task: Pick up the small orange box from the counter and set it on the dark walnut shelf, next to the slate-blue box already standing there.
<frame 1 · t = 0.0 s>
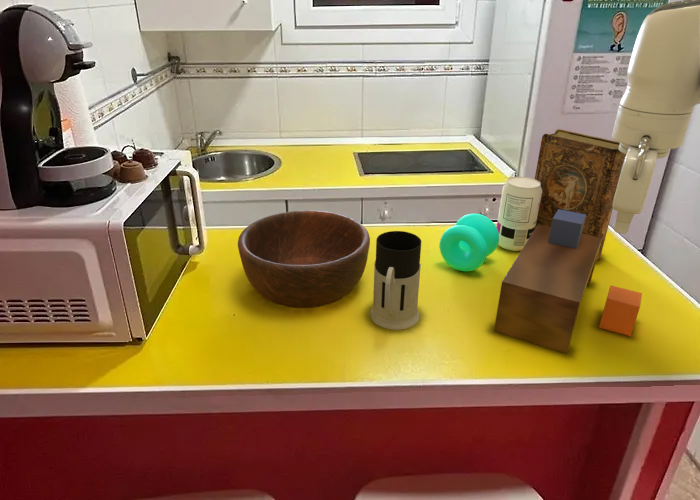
hand: (623, 219, 78), 22 cm above the counter, tool pointing down, fingers open, 8 cm apart
wooden bowl: (306, 282, 103), on the counter
book: (562, 247, 117), on the counter
glass holder: (391, 324, 91), on the counter
slate-blue box: (564, 240, 98), point 10 cm above the counter, touching shelf
orange box: (616, 324, 91), on the counter
shelf: (545, 305, 97), on the counter
supplement can: (512, 244, 119), on the counter
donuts: (466, 263, 111), on the counter
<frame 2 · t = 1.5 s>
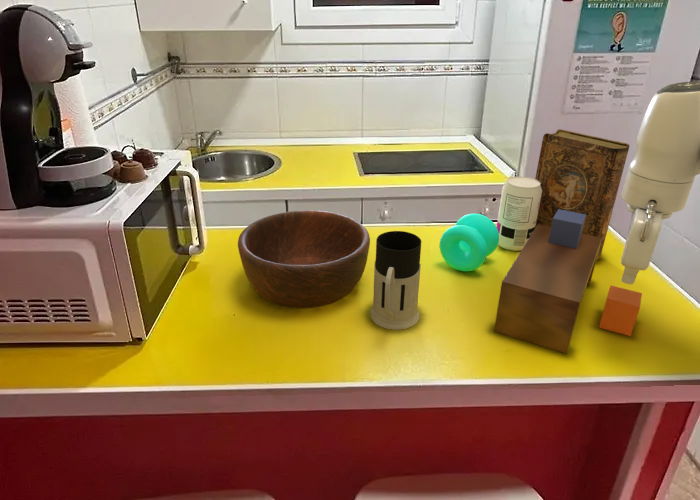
hand: (630, 268, 86), 11 cm above the counter, tool pointing down, fingers open, 8 cm apart
nothing on the counter moved.
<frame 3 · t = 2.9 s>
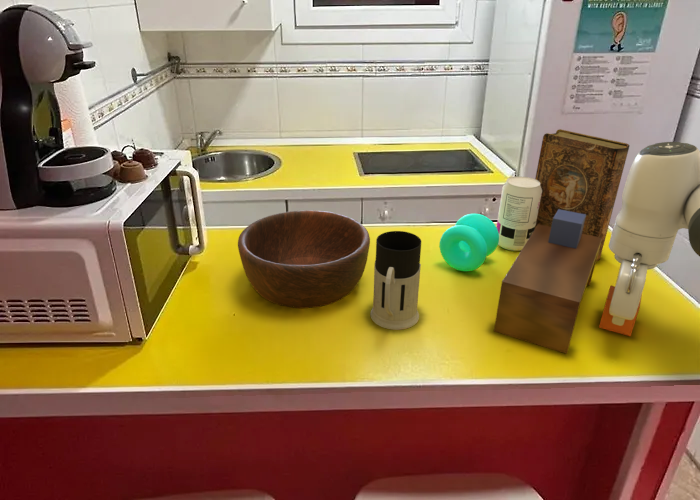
hand: (619, 313, 90), 2 cm above the counter, tool pointing down, fingers closed on orange box, 5 cm apart
orange box: (616, 324, 91), on the counter, touching gripper
everything else where it was.
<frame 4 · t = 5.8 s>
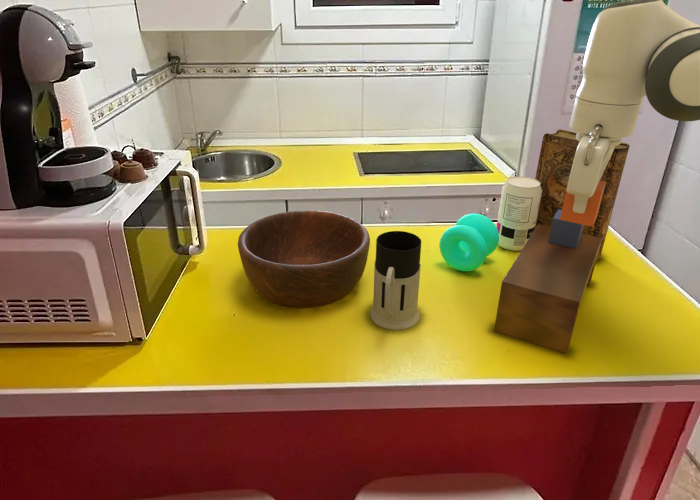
hand: (582, 204, 84), 22 cm above the counter, tool pointing down, fingers closed on orange box, 5 cm apart
orange box: (578, 217, 85), point 19 cm above the counter, touching gripper
everything else where it was.
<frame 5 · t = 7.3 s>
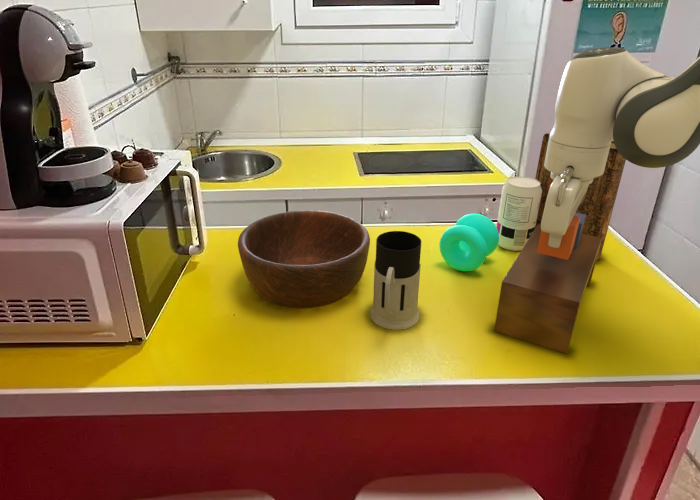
hand: (558, 238, 87), 15 cm above the counter, tool pointing down, fingers closed on orange box, 5 cm apart
orange box: (555, 250, 88), point 13 cm above the counter, touching gripper
everything else where it was.
when the fingers open (12 cm above the counter, at t = 8.5 s): orange box stays where it is, resting on shelf.
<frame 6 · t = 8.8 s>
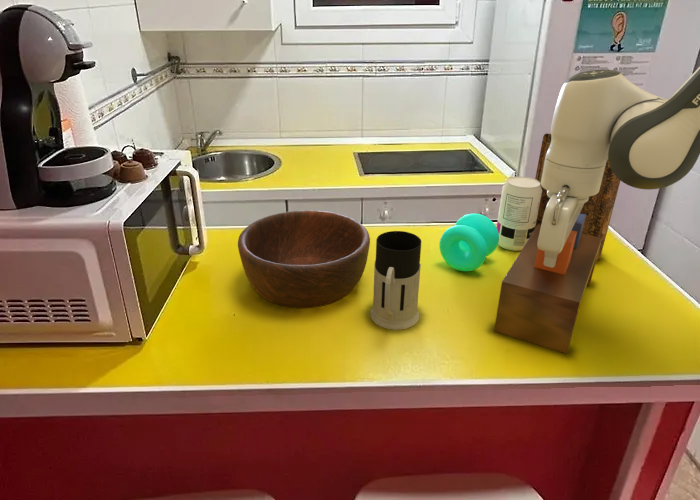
hand: (554, 254, 89), 12 cm above the counter, tool pointing down, fingers open, 7 cm apart
orange box: (552, 264, 90), point 10 cm above the counter, touching shelf
everything else where it was.
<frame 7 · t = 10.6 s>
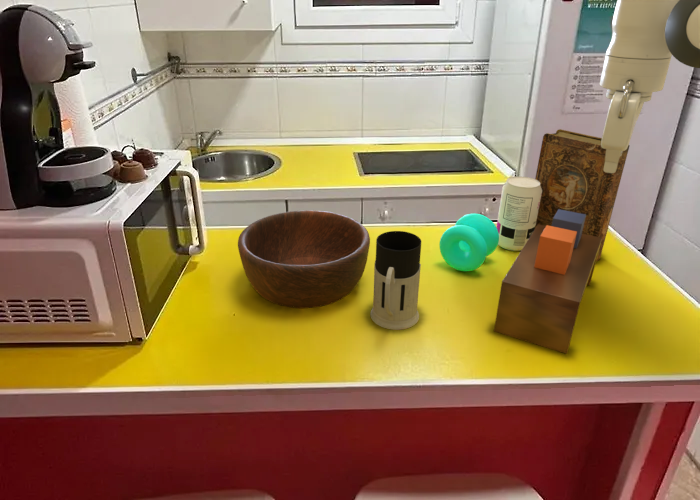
hand: (612, 163, 85), 27 cm above the counter, tool pointing down, fingers open, 8 cm apart
nothing on the counter moved.
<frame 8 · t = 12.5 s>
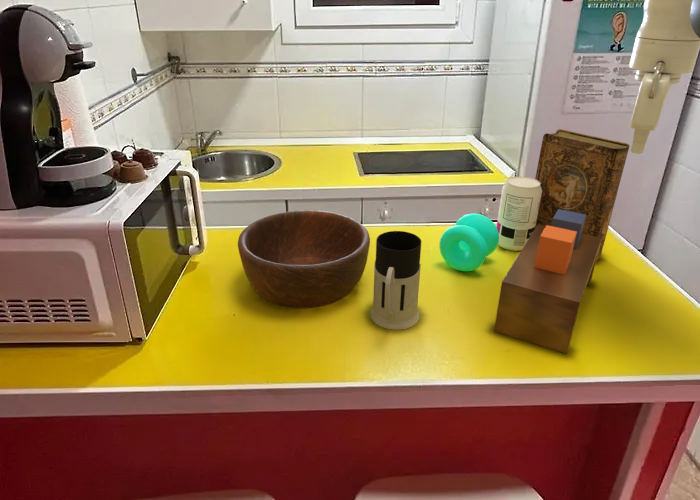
hand: (638, 145, 87), 29 cm above the counter, tool pointing down, fingers open, 8 cm apart
nothing on the counter moved.
at the end: orange box inside the target area on the shelf (3.0 cm from its centre), point 10.0 cm above the shelf's base; orange box tilted 0°; orange box 11.0 cm from the slate-blue box (horizontally) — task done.
